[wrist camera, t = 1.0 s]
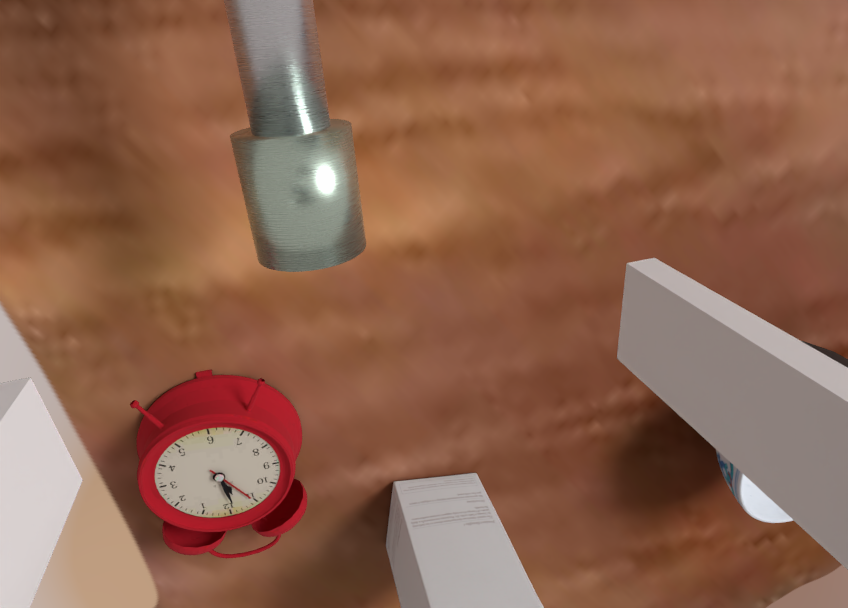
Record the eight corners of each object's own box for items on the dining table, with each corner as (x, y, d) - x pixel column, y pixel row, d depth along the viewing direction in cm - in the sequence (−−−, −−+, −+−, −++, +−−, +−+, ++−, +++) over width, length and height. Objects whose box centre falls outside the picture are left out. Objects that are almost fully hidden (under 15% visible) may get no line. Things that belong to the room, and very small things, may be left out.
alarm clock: (287, 374, 32) (325, 585, 36) (287, 343, 38) (320, 526, 42) (95, 409, 30) (157, 629, 34) (127, 370, 36) (177, 561, 40)
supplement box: (383, 545, 45) (420, 708, 34) (392, 478, 42) (435, 633, 31) (465, 535, 47) (525, 685, 36) (479, 470, 44) (549, 613, 33)
